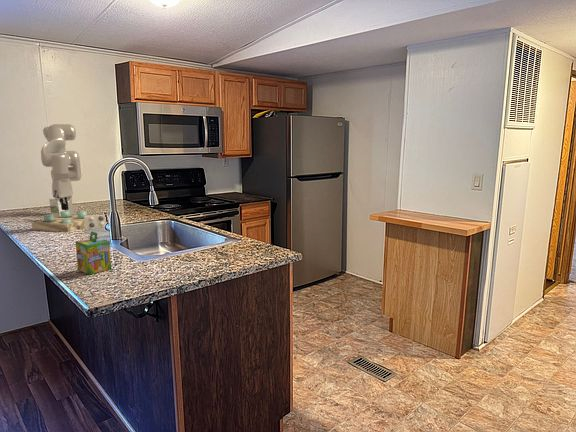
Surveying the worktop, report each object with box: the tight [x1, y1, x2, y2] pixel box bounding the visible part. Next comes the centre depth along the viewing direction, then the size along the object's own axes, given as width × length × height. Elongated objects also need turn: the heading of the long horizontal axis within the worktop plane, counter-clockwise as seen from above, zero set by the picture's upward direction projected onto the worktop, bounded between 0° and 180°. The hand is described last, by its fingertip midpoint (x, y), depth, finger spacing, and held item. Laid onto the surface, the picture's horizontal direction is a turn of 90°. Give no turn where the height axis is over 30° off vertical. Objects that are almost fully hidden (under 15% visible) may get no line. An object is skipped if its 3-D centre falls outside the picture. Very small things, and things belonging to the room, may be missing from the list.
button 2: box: [60, 211, 70, 218], centre depth 241 cm, size 5×5×4 cm
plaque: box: [84, 214, 107, 230], centre depth 230 cm, size 1×12×7 cm, turn 115°
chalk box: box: [75, 231, 112, 276], centre depth 154 cm, size 9×9×15 cm
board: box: [31, 214, 85, 233], centre depth 235 cm, size 24×24×4 cm
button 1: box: [43, 213, 54, 222], centre depth 230 cm, size 5×5×4 cm
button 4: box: [76, 210, 88, 219], centre depth 238 cm, size 5×5×4 cm
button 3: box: [61, 219, 71, 223], centre depth 227 cm, size 5×5×4 cm
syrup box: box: [48, 196, 65, 217], centre depth 252 cm, size 6×6×14 cm
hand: (65, 209), depth 226 cm, fingers closed
